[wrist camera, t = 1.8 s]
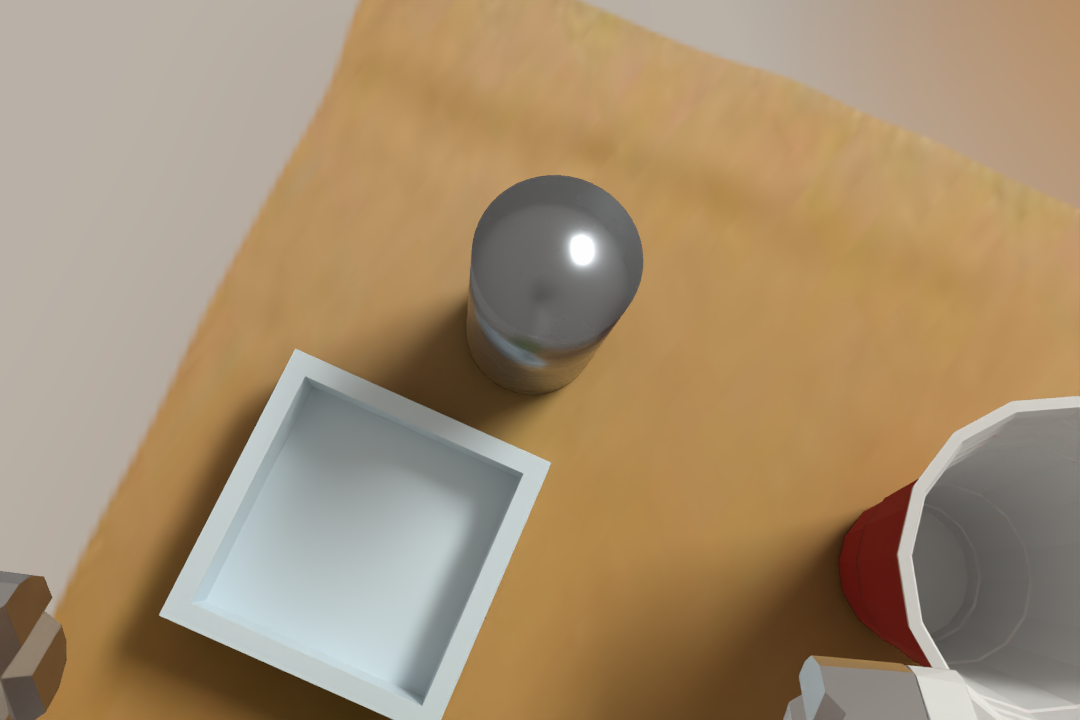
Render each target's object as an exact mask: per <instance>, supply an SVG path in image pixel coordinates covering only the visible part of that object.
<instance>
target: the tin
mask: <svg viewBox="0 0 1080 720" xmlns="http://www.w3.org/2000/svg"><path fill="white" fill-rule="evenodd" d="M642 270H643V252H642V245H641V241H640V237H639V234H638V231H637V229H636V227H635V225H634V223H633V221H632V219H631V217H630V216H629V214H628V213H627V211H626V210H625V209H624V208H623V206H622V205H621V204H620V203H619V202H618V201H617V200H616V199H615V198H614V197H612V196H611V195H610V194H609V193H607V192H606V191H604V190H603V189H601V188H600V187H598V186H596V185H594V184H592V183H590V182H587V181H584V180H582V179H578V178H574V177H569V176H561V175H548V176H540V177H535V178H531V179H527V180H525V181H522V182H520V183H517V184H515V185H514V186H512V187H510V188H508V189H507V190H505V191H504V192H503V193H502V194H500V195H499V196H498V197H497V198H496V199H495V200H494V201H493V202H492V203H491V204H490V205H489V207H488V208H487V209H486V211H485V212H484V214H483V215H482V217H481V219H480V221H479V223H478V226H477V228H476V231H475V234H474V238H473V244H472V254H471V268H470V282H469V296H468V310H467V324H466V335H467V342H468V346H469V349H470V352H471V355H472V357H473V359H474V361H475V362H476V364H477V366H478V367H479V368H480V370H481V371H482V372H483V373H484V374H485V375H486V376H487V377H488V378H489V379H490V380H492V381H493V382H495V383H496V384H497V385H499V386H501V387H503V388H505V389H508V390H510V391H513V392H517V393H521V394H543V393H548V392H551V391H555V390H557V389H559V388H562V387H564V386H565V385H567V384H569V383H570V382H571V381H573V380H574V379H575V378H576V377H577V376H578V375H579V374H580V373H581V372H582V371H583V369H584V368H585V367H586V365H587V364H588V362H589V361H590V360H591V358H592V357H593V355H594V354H595V353H596V351H597V350H598V348H599V347H600V345H601V344H602V343H603V341H604V340H605V338H606V337H607V336H608V334H609V333H610V331H611V330H612V328H613V327H614V326H615V324H616V323H617V321H618V320H619V319H620V317H621V316H622V314H623V313H624V312H625V310H626V309H627V307H628V306H629V304H630V303H631V302H632V300H633V298H634V296H635V294H636V292H637V289H638V287H639V284H640V281H641V276H642Z"/></svg>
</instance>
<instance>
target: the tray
mask: <svg viewBox="0 0 1080 720" xmlns="http://www.w3.org/2000/svg"><path fill="white" fill-rule="evenodd" d="M550 465H551V462H549V461H546V460H544V459H542V458H540V457H537V456H535V455H533V454H531V453H528V452H526V451H524V450H522V449H519V448H517V447H515V446H513V445H510V444H508V443H506V442H504V441H501V440H499V439H497V438H495V437H492V436H490V435H488V434H486V433H483V432H481V431H479V430H477V429H474V428H472V427H470V426H468V425H465V424H463V423H461V422H459V421H457V420H454V419H452V418H450V417H448V416H445V415H443V414H441V413H439V412H436V411H434V410H432V409H430V408H427V407H425V406H423V405H421V404H418V403H416V402H414V401H412V400H409V399H407V398H405V397H403V396H400V395H398V394H396V393H394V392H391V391H389V390H387V389H385V388H382V387H380V386H378V385H376V384H373V383H371V382H369V381H367V380H364V379H362V378H360V377H358V376H356V375H353V374H351V373H349V372H347V371H344V370H342V369H340V368H338V367H335V366H333V365H331V364H329V363H326V362H324V361H322V360H320V359H317V358H315V357H313V356H311V355H308V354H306V353H304V352H302V351H299V350H297V349H295V350H294V352H293V354H292V356H291V358H290V360H289V362H288V364H287V366H286V368H285V370H284V372H283V374H282V376H281V378H280V380H279V382H278V383H277V385H276V387H275V389H274V391H273V393H272V395H271V397H270V399H269V401H268V403H267V405H266V407H265V409H264V411H263V413H262V415H261V417H260V419H259V421H258V423H257V424H256V426H255V428H254V430H253V432H252V434H251V436H250V438H249V440H248V442H247V444H246V446H245V448H244V450H243V452H242V454H241V456H240V458H239V460H238V462H237V464H236V465H235V467H234V469H233V471H232V473H231V475H230V477H229V479H228V481H227V483H226V485H225V487H224V489H223V491H222V493H221V495H220V497H219V499H218V501H217V503H216V504H215V506H214V508H213V510H212V512H211V514H210V516H209V518H208V520H207V522H206V524H205V526H204V528H203V530H202V532H201V534H200V536H199V538H198V540H197V542H196V544H195V545H194V547H193V549H192V551H191V553H190V555H189V557H188V559H187V561H186V563H185V565H184V567H183V569H182V571H181V573H180V575H179V577H178V579H177V581H176V583H175V585H174V586H173V588H172V590H171V592H170V594H169V596H168V598H167V600H166V602H165V604H164V606H163V608H162V610H161V612H160V614H159V616H161V617H163V618H166V619H168V620H170V621H172V622H175V623H177V624H179V625H181V626H184V627H186V628H188V629H190V630H193V631H195V632H197V633H199V634H202V635H204V636H206V637H208V638H211V639H213V640H215V641H217V642H220V643H222V644H224V645H226V646H229V647H231V648H233V649H236V650H238V651H240V652H242V653H245V654H247V655H249V656H251V657H254V658H256V659H258V660H260V661H263V662H265V663H267V664H269V665H272V666H274V667H276V668H278V669H281V670H283V671H285V672H287V673H290V674H292V675H294V676H296V677H299V678H301V679H303V680H305V681H308V682H310V683H312V684H314V685H317V686H319V687H321V688H323V689H326V690H328V691H330V692H332V693H335V694H337V695H339V696H341V697H344V698H346V699H348V700H350V701H353V702H355V703H357V704H359V705H362V706H364V707H366V708H368V709H371V710H373V711H375V712H377V713H380V714H382V715H384V716H386V717H389V718H391V719H393V720H441V718H442V716H443V714H444V711H445V709H446V707H447V704H448V702H449V700H450V697H451V695H452V693H453V690H454V688H455V686H456V683H457V681H458V679H459V676H460V674H461V672H462V670H463V667H464V665H465V663H466V660H467V658H468V656H469V653H470V651H471V649H472V646H473V644H474V642H475V639H476V637H477V635H478V632H479V630H480V628H481V625H482V623H483V621H484V618H485V616H486V614H487V611H488V609H489V607H490V604H491V602H492V600H493V597H494V595H495V593H496V590H497V588H498V586H499V583H500V581H501V579H502V576H503V574H504V572H505V569H506V567H507V565H508V563H509V560H510V558H511V556H512V553H513V551H514V549H515V546H516V544H517V542H518V539H519V537H520V535H521V532H522V530H523V528H524V525H525V523H526V521H527V518H528V516H529V514H530V511H531V509H532V507H533V504H534V502H535V500H536V497H537V495H538V493H539V490H540V488H541V486H542V483H543V481H544V479H545V476H546V474H547V472H548V469H549V467H550Z"/></svg>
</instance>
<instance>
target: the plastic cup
mask: <svg viewBox="0 0 1080 720" xmlns="http://www.w3.org/2000/svg"><path fill="white" fill-rule="evenodd" d="M838 564H839V571H840V578H841V585H842V591H843V593H844V595H845V596H846V598H847V600H848V602H849V604H850V606H851V607H852V609H853V611H854V613H855V615H856V616H857V617H858V619H859V620H860V621H861V622H863V623H864V624H865V625H866V626H867V627H868V628H870V629H871V630H872V631H873V632H874V633H875V634H877V635H878V636H879V637H880V638H881V639H883V640H885V641H886V642H888V643H890V644H892V645H893V646H895V647H897V648H898V649H900V650H901V651H902V652H903V653H904V654H905V655H907V656H908V657H909V658H911V659H912V660H914V661H915V662H917V663H919V664H920V665H922V666H924V667H930V668H941V669H950V670H956V671H957V672H958V673H959V675H960V676H961V677H962V678H963V679H964V681H965V684H966V687H967V689H968V692H969V695H970V698H971V700H972V703H973V706H974V709H975V711H976V714H977V717H978V720H1080V396H1073V397H1061V398H1048V399H1035V400H1023V401H1011V402H1010V403H1008V404H1006V405H1004V406H1002V407H1000V408H998V409H997V410H995V411H993V412H991V413H989V414H987V415H985V416H984V417H982V418H980V419H978V420H976V421H974V422H972V423H971V424H969V425H967V426H965V427H963V428H961V429H959V430H958V431H956V432H954V433H953V434H952V436H951V437H950V438H949V440H948V441H947V442H946V444H945V445H944V446H943V448H942V449H941V450H940V452H939V453H938V454H937V456H936V457H935V458H934V459H933V461H932V462H931V463H930V465H929V466H928V467H927V469H926V470H925V471H924V473H923V474H922V475H921V477H920V478H919V479H917V480H916V481H914V482H912V483H910V484H909V485H907V486H905V487H903V488H902V489H900V490H898V491H897V492H895V493H893V494H891V495H890V496H888V497H886V498H885V499H884V500H883V501H882V502H881V503H879V504H877V505H875V506H873V507H871V508H870V509H868V510H866V511H864V512H863V513H862V515H861V516H860V517H859V518H858V520H857V521H856V522H855V524H854V525H853V527H852V528H851V529H850V531H849V532H848V533H847V535H846V536H845V538H844V542H843V546H842V550H841V554H840V558H839V563H838Z"/></svg>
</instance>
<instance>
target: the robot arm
mask: <svg viewBox="0 0 1080 720" xmlns="http://www.w3.org/2000/svg"><path fill="white" fill-rule="evenodd" d="M51 599H52V596H51V593H50V591H49V588H48V586H47V583H46V581H45V578H44V577H42V576H34V575H26V574H19V573H11V572H3V571H0V720H35V719H37V718H38V717H40V716H41V715H43V714H44V713H46V711H47V709H48V707H49V705H50V703H51V702H52V700H53V698H54V696H55V694H56V692H57V690H58V688H59V686H60V682H61V678H62V675H63V671H64V667H65V664H66V660H67V658H66V638H65V635H64V631H63V628H62V625H61V624H60V623H58V622H57V621H56V620H55V619H53V618H52V617H51V616H50V615H49V614H47V613H46V612H45V611H44V610H45V609H46V607H47V605H48V604H49V602H50V601H51ZM799 680H800V686H801V692H802V695H800V696H798V697H797V698H795V699H793V700H791V701H790V702H789V703H788V706H787V709H786V712H785V716H784V719H783V720H978V717H977V714H976V711H975V709H974V706H973V703H972V700H971V698H970V695H969V692H968V689H967V687H966V684H965V681H964V679H963V678H962V677H961V676H960V675H959V673H958V672H957V671H956V670H950V669H941V668H930V667H920V666H910V665H905V666H904V665H903V664H902V663H891V662H880V661H869V660H858V659H847V658H836V657H825V656H814V655H811V656H810V657H809V658H808V659H807V660H806V661H805V662H804V665H803V667H802V669H801V672H800V674H799Z"/></svg>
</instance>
